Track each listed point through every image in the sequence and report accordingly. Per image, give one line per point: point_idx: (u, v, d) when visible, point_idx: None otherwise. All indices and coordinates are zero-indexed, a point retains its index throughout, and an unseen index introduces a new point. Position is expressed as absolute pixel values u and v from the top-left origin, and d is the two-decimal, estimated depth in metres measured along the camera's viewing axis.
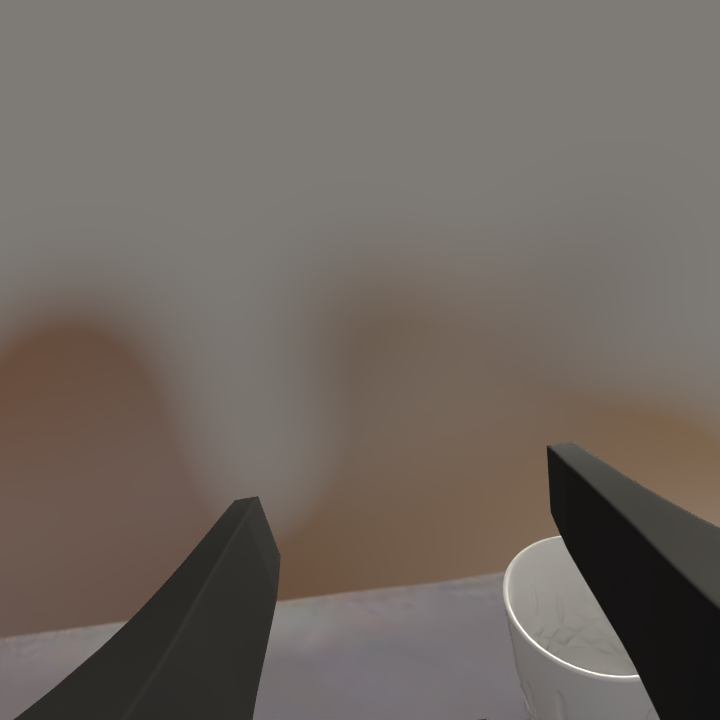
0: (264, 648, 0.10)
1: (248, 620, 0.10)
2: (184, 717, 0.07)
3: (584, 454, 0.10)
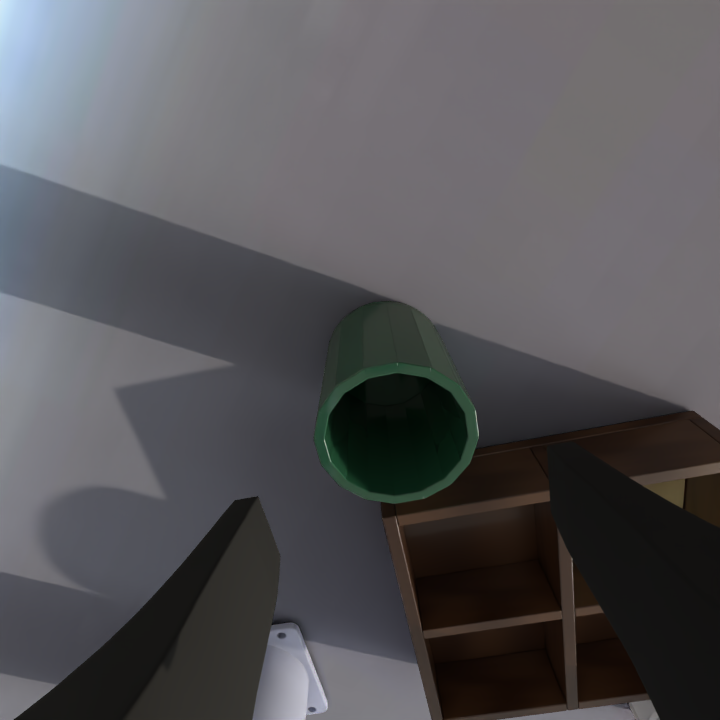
0: (264, 648, 0.10)
1: (248, 620, 0.10)
2: (184, 717, 0.07)
3: (584, 454, 0.10)
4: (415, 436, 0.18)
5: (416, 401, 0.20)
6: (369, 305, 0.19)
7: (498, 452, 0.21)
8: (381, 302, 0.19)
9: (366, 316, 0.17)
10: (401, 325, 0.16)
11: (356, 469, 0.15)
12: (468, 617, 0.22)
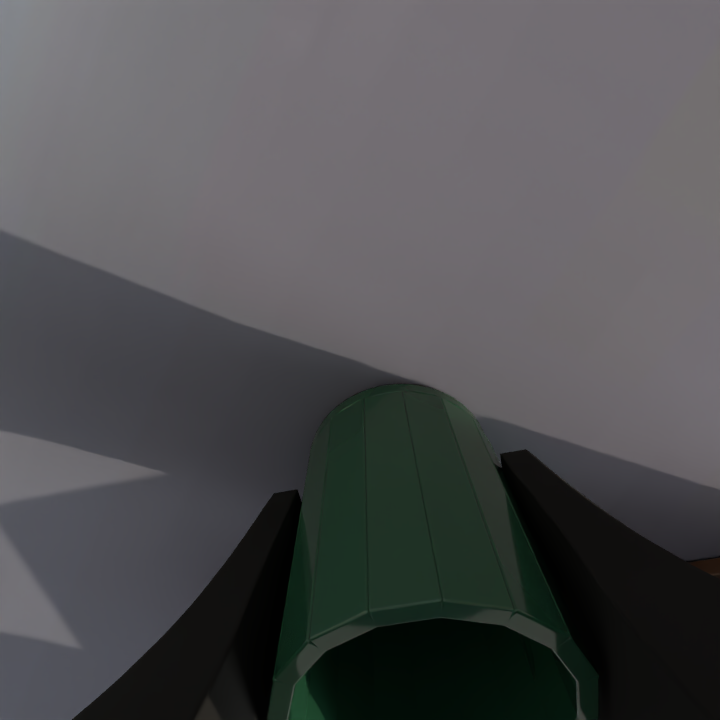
0: None
1: None
2: (247, 708, 0.07)
3: (533, 463, 0.10)
4: (452, 621, 0.11)
5: None
6: (375, 392, 0.12)
7: None
8: (394, 387, 0.12)
9: (370, 421, 0.10)
10: (433, 452, 0.09)
11: None
12: None
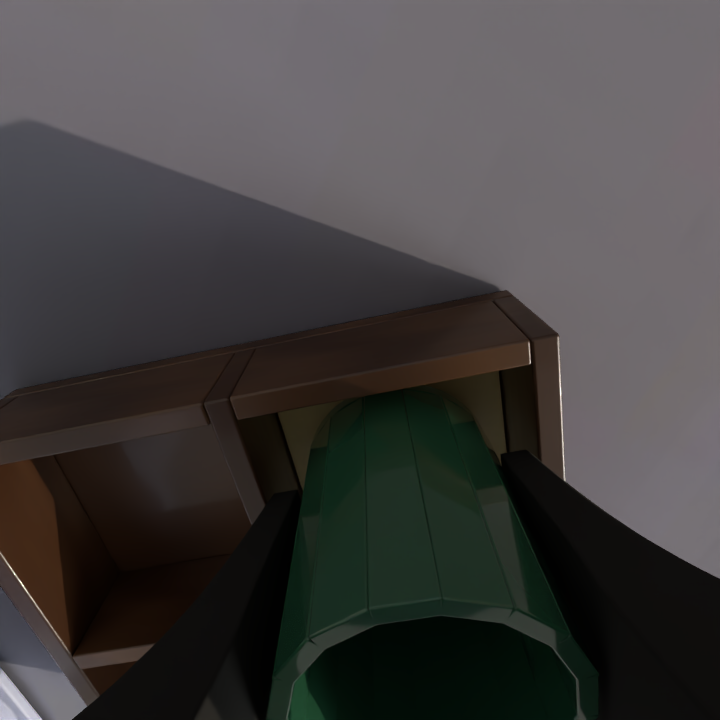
0: None
1: None
2: (248, 708, 0.07)
3: (533, 463, 0.10)
4: (452, 620, 0.10)
5: None
6: None
7: (186, 362, 0.13)
8: None
9: (370, 420, 0.10)
10: (433, 450, 0.09)
11: None
12: (149, 634, 0.13)
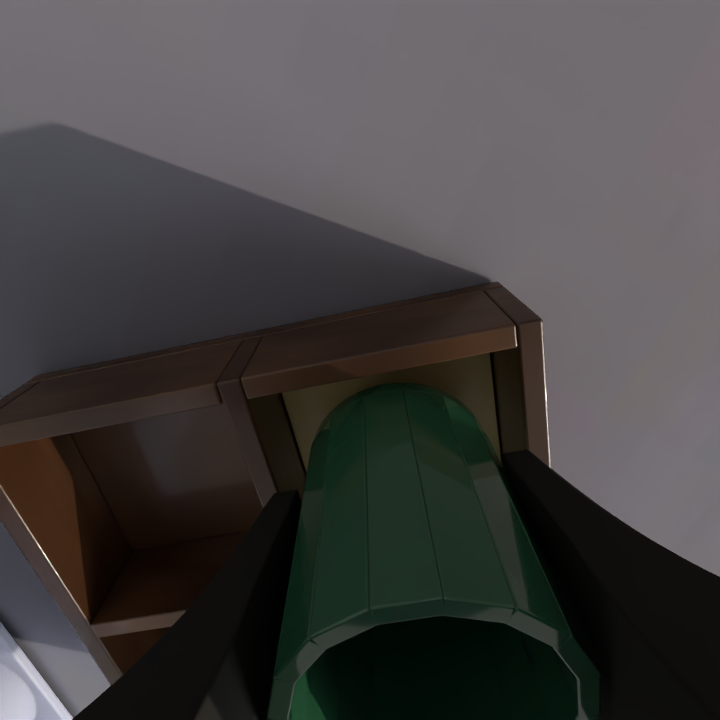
0: None
1: None
2: (247, 708, 0.07)
3: (535, 463, 0.10)
4: (453, 619, 0.10)
5: None
6: (375, 390, 0.12)
7: (198, 348, 0.14)
8: (394, 385, 0.12)
9: (371, 419, 0.10)
10: (434, 450, 0.09)
11: None
12: (162, 604, 0.14)
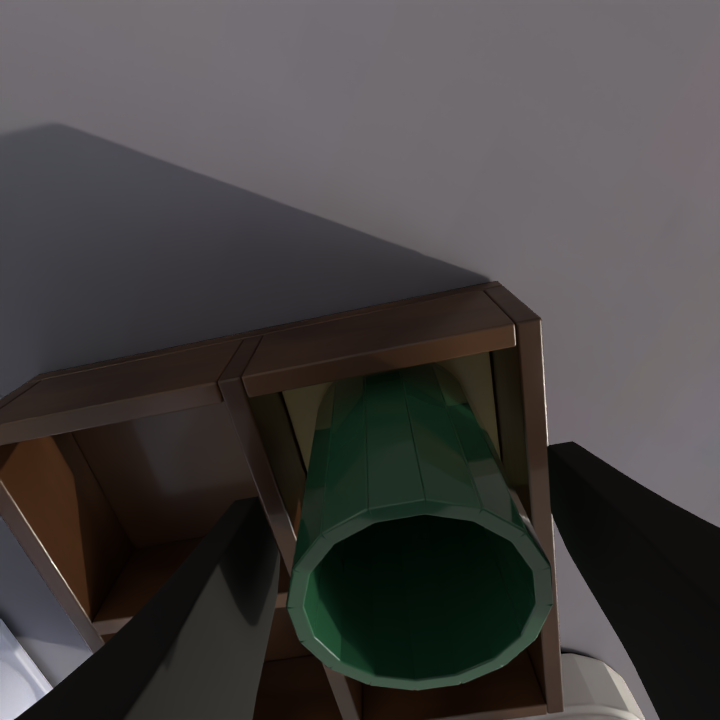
0: (264, 648, 0.10)
1: (248, 620, 0.10)
2: (184, 717, 0.07)
3: (584, 454, 0.10)
4: (440, 554, 0.12)
5: None
6: None
7: (198, 348, 0.14)
8: None
9: (370, 382, 0.12)
10: (423, 404, 0.11)
11: (355, 629, 0.10)
12: None
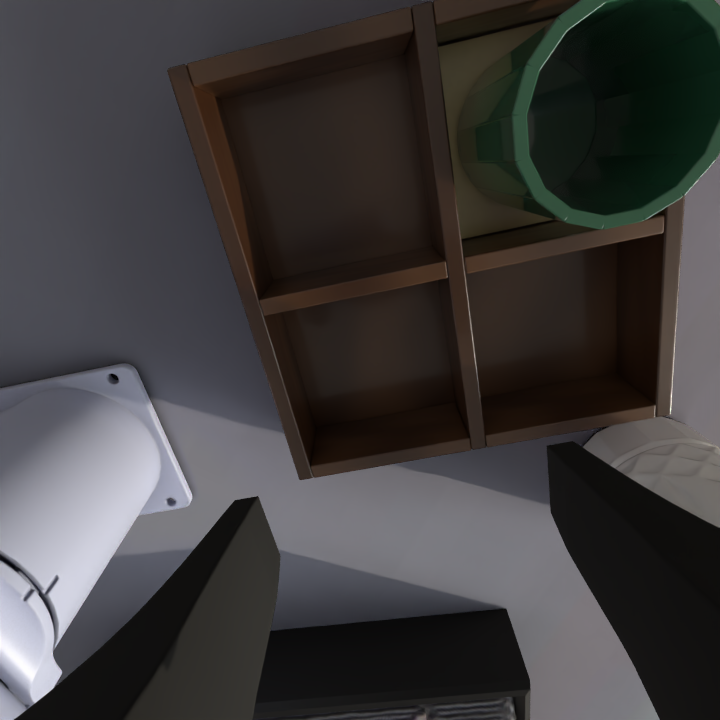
0: (264, 648, 0.10)
1: (248, 620, 0.10)
2: (184, 717, 0.07)
3: (584, 454, 0.10)
4: (590, 194, 0.14)
5: (568, 183, 0.16)
6: None
7: None
8: None
9: None
10: None
11: None
12: (322, 284, 0.16)
